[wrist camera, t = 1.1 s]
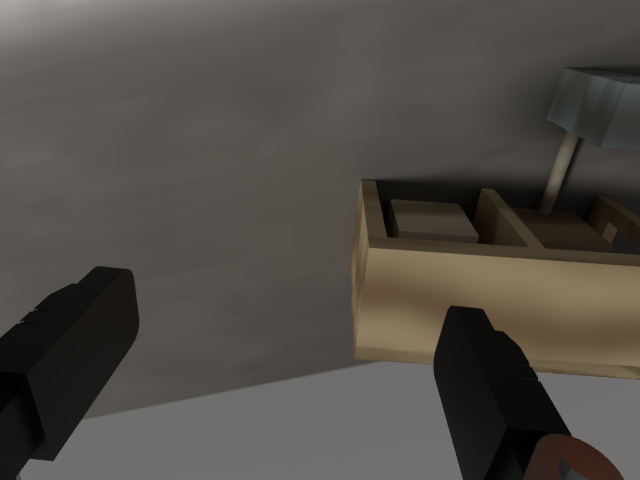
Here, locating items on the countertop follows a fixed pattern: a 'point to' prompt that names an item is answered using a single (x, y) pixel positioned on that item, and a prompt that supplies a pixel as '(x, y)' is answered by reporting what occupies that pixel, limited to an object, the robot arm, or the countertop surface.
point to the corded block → (594, 126)
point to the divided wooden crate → (499, 290)
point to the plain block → (429, 222)
